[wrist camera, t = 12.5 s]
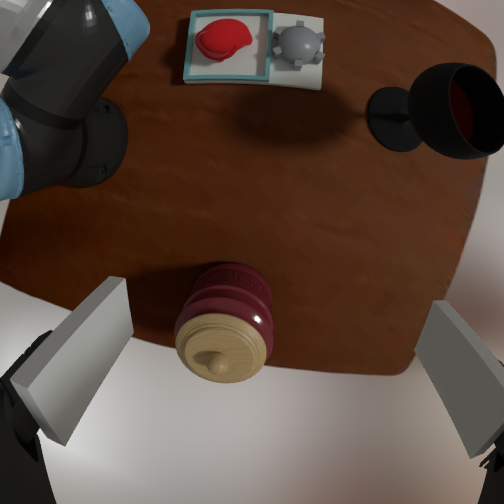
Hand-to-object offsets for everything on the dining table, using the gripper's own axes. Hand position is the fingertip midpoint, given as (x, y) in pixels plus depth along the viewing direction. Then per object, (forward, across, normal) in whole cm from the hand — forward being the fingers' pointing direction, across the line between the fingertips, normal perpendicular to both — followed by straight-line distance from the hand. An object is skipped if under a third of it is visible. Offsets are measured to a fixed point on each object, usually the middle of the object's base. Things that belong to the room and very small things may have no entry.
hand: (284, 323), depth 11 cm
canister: (+32, -5, -17) cm, 36 cm away
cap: (+31, -8, +22) cm, 39 cm away
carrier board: (+32, -4, +22) cm, 39 cm away
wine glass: (+32, +18, +14) cm, 39 cm away
